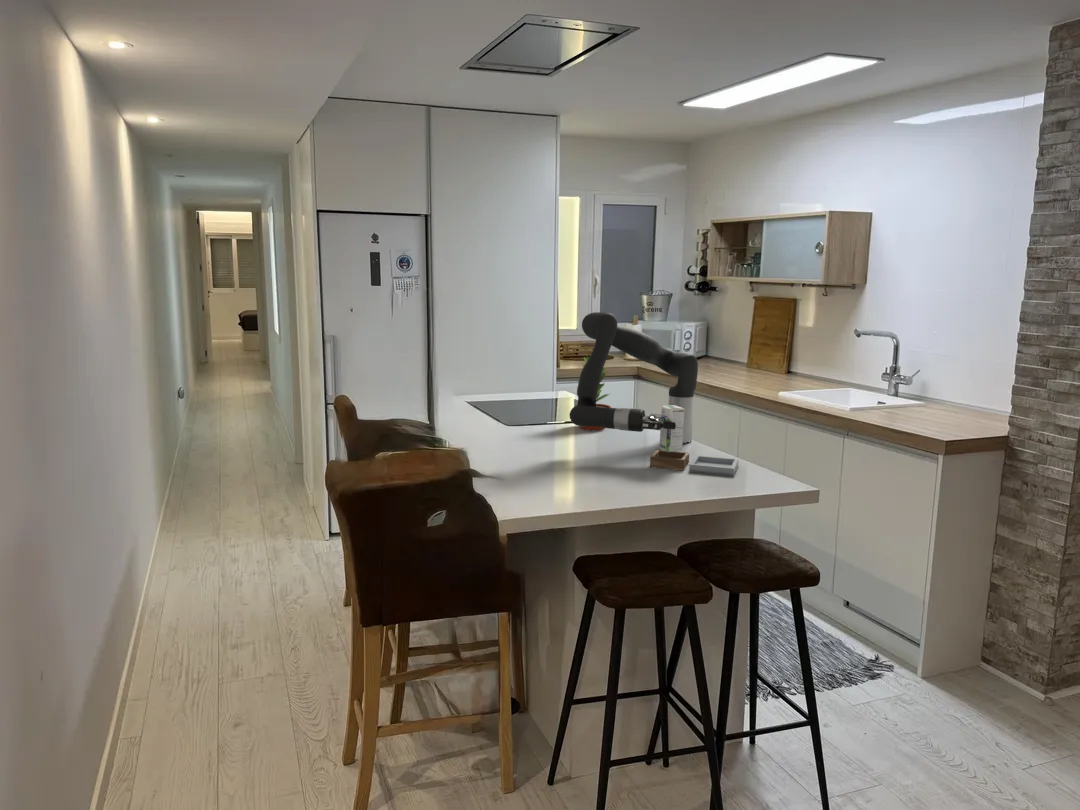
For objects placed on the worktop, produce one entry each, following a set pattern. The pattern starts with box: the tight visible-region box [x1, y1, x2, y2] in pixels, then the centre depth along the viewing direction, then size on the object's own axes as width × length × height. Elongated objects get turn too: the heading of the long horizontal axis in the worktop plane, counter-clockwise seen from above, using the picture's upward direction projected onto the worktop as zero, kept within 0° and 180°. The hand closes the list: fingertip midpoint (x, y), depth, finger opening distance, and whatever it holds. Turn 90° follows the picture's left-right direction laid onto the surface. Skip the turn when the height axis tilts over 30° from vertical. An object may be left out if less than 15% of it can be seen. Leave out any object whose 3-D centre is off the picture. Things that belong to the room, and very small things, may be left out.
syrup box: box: [659, 404, 684, 452], centre depth 267 cm, size 6×6×14 cm
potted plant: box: [575, 355, 612, 431], centre depth 326 cm, size 15×15×30 cm
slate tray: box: [688, 454, 740, 477], centre depth 264 cm, size 14×14×2 cm
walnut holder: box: [649, 449, 690, 471], centre depth 269 cm, size 11×11×4 cm
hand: (677, 423), depth 266 cm, fingers closed on syrup box, 8 cm apart
